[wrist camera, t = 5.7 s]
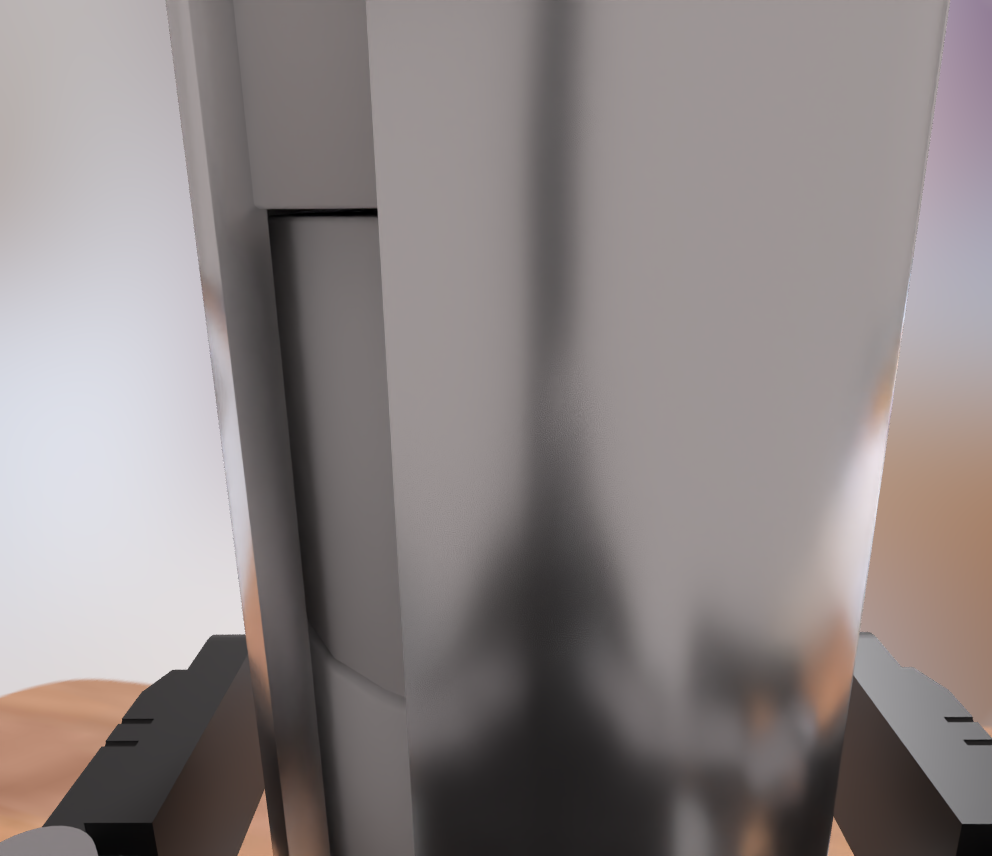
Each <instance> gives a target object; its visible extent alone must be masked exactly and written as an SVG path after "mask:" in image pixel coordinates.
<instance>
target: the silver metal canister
mask: <svg viewBox="0 0 992 856" xmlns="http://www.w3.org/2000/svg"><path fill="white" fill-rule="evenodd" d="M949 4H950V0H166V7H167V15H168V23H169V31H170V39H171V47H172V55H173V63H174V71H175V79H176V87H177V95H178V102H179V111H180V119H181V127H182V134H183V142H184V150H185V157H186V166H187V174H188V182H189V190H190V197H191V206H192V213H193V221H194V230H195V237H196V246H197V253H198V261H199V269H200V277H201V285H202V293H203V301H204V309H205V317H206V325H207V333H208V341H209V348H210V357H211V365H212V373H213V380H214V388H215V396H216V404H217V412H218V420H219V428H220V436H221V444H222V451H223V459H224V468H225V475H226V483H227V492H228V499H229V507H230V515H231V523H232V531H233V539H234V547H235V555H236V563H237V571H238V579H239V587H240V594H241V602H242V611H243V618H244V626H245V634H246V642H247V650H248V658H249V666H250V674H251V682H252V690H253V698H254V706H255V714H256V722H257V730H258V737H259V745H260V753H261V761H262V769H263V777H264V785H265V793H266V801H267V809H268V817H269V825H270V833H271V841H272V849H273V856H828V850H829V843H830V836H831V829H832V822H833V815H834V808H835V801H836V794H837V787H838V780H839V773H840V766H841V759H842V752H843V745H844V738H845V731H846V724H847V717H848V710H849V703H850V696H851V689H852V682H853V675H854V668H855V661H856V654H857V647H858V640H859V633H860V626H861V619H862V612H863V605H864V598H865V591H866V583H867V577H868V570H869V562H870V556H871V549H872V542H873V535H874V528H875V521H876V514H877V507H878V499H879V493H880V486H881V480H882V473H883V465H884V458H885V451H886V445H887V437H888V430H889V423H890V417H891V410H892V402H893V396H894V388H895V382H896V375H897V367H898V361H899V353H900V347H901V340H902V333H903V326H904V319H905V312H906V304H907V298H908V291H909V283H910V277H911V270H912V263H913V256H914V249H915V242H916V234H917V228H918V221H919V213H920V207H921V200H922V193H923V186H924V179H925V172H926V165H927V158H928V151H929V144H930V137H931V130H932V123H933V116H934V109H935V102H936V95H937V88H938V81H939V74H940V67H941V60H942V54H943V47H944V40H945V33H946V26H947V18H948V12H949Z"/></svg>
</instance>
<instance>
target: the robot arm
mask: <svg viewBox="0 0 992 856" xmlns="http://www.w3.org/2000/svg"><path fill="white" fill-rule="evenodd" d="M264 789H265V785H264V777H263V769H262V761H261V753H260V745H259V737H258V730H257V722H256V714H255V706H254V698H253V690H252V682H251V674H250V666H249V658H248V650H247V642H246V635H212V636H211V637H210V638H209V639H208V640H207V642H206V643H205V645H204V646H203V647H202V649H201V651H200V652H199V653H198V655H197V656H196V658H195V659H194V661H193V662H192V664H191V665H190V667H189V668H188V670H172V671H170V672H169V673H168V674H166V675H165V676H163V677H162V678H161V679H159V680H158V681H157V682H155V683H154V684H152V685H151V686H150V687H148V688H147V689H146V690H144V691H143V692H142V693H141V694H140V695H139V697H138V698H137V699H136V701H135V702H134V703H133V705H132V706H131V707H130V709H129V710H128V711H127V713H126V714H125V716H124V717H123V718H122V723H121V724H118V725H117V726H116V728H115V729H114V730H113V732H112V733H111V734H110V736H109V737H108V739H107V740H106V745H105V747H101V748H100V749H99V751H98V752H97V753H96V755H95V756H94V757H93V759H92V760H91V762H90V763H89V764H88V766H87V767H86V768H85V770H84V771H83V772H82V774H81V775H80V776H79V778H78V779H77V780H76V782H75V783H74V785H73V786H72V787H71V789H70V790H69V791H68V793H67V794H66V795H65V797H64V798H63V799H62V801H61V802H60V803H59V805H58V806H57V807H56V809H55V810H54V812H53V813H52V814H51V816H50V817H49V818H48V820H47V821H46V822H45V824H44V825H43V826H42V828H37V829H33V830H30V831H26V832H23V833H21V834H18V835H15V836H13V837H11V838H8V839H6V840H4V841H2V842H0V856H237V855H238V853H239V850H240V848H241V845H242V843H243V840H244V838H245V836H246V833H247V831H248V828H249V826H250V823H251V821H252V818H253V816H254V814H255V811H256V809H257V806H258V804H259V801H260V799H261V797H262V794H263V792H264ZM833 816H834V818H835V820H836V822H837V824H838V826H839V828H840V829H841V831H842V833H843V835H844V837H845V839H846V841H847V843H848V844H849V846H850V848H851V850H852V852H853V854H854V856H992V738H991V737H990V735H989V734H988V733H987V732H986V731H985V730H984V729H983V728H982V727H981V725H980V724H979V723H978V722H973V717H972V716H971V714H970V713H969V712H968V711H967V710H966V709H965V708H964V707H963V706H962V704H961V703H960V702H959V701H958V700H957V699H956V698H955V697H954V696H953V694H952V693H951V692H950V691H949V690H948V689H946V688H944V687H943V686H941V685H940V684H938V683H937V682H935V681H934V680H932V679H931V678H929V677H927V676H926V675H924V674H923V673H921V672H920V671H918V670H917V669H915V668H913V667H901V666H900V665H899V664H898V662H897V661H896V660H895V659H894V658H893V657H892V656H891V654H890V653H889V652H888V651H887V650H886V648H885V647H884V646H883V645H882V644H881V642H880V641H879V640H878V639H877V638H876V637H875V636H874V635H873V634H872V633H869V632H860V633H859V640H858V647H857V654H856V661H855V668H854V675H853V682H852V689H851V696H850V703H849V710H848V717H847V724H846V731H845V738H844V745H843V752H842V759H841V766H840V773H839V780H838V787H837V794H836V801H835V808H834V815H833Z"/></svg>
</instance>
